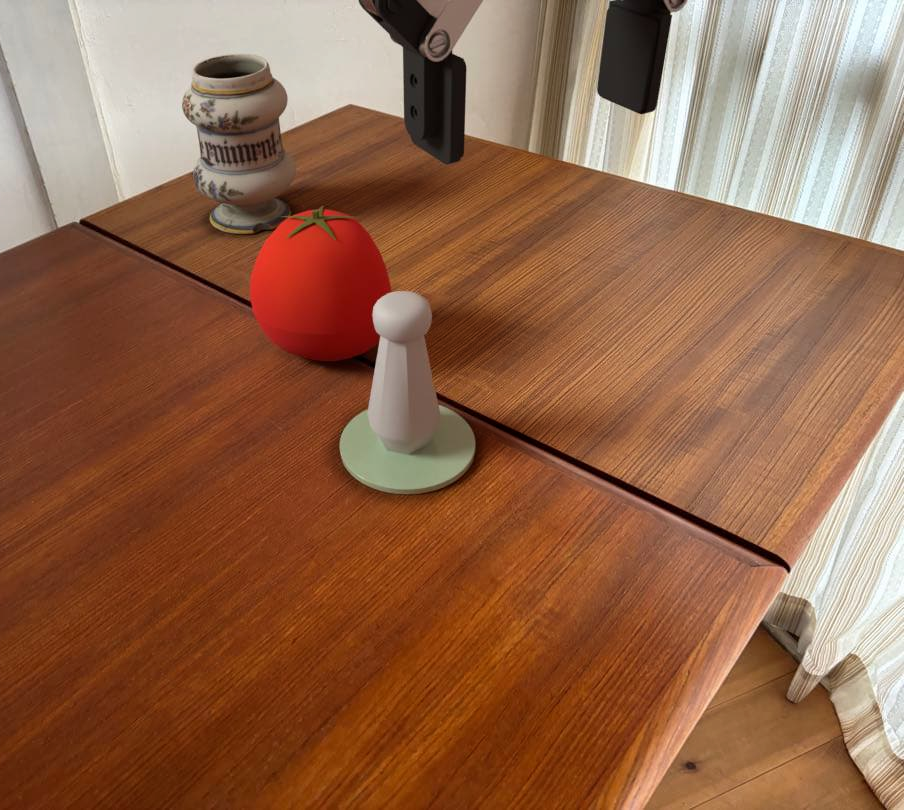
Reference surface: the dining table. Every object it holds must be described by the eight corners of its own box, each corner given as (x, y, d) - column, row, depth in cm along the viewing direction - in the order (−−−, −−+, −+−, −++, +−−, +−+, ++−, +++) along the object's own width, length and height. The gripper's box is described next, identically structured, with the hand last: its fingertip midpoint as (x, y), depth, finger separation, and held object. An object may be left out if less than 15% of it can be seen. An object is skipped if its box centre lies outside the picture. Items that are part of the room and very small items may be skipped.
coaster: (487, 416, 71) (488, 411, 71) (458, 506, 63) (458, 501, 63) (364, 396, 74) (363, 390, 74) (320, 479, 66) (320, 474, 66)
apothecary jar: (223, 249, 97) (196, 90, 86) (187, 210, 105) (159, 61, 94) (317, 222, 101) (303, 67, 90) (275, 187, 110) (258, 41, 99)
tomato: (396, 320, 84) (393, 185, 75) (389, 390, 75) (384, 246, 66) (271, 319, 85) (253, 186, 76) (249, 388, 76) (226, 246, 67)
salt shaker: (429, 468, 66) (429, 328, 58) (359, 454, 68) (350, 316, 59) (447, 421, 70) (450, 285, 62) (382, 410, 72) (376, 276, 64)
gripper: (382, -473, 20) (397, 209, 30) (892, -457, 25) (754, 112, 36) (263, -423, 25) (312, 142, 36) (707, -419, 31) (634, 67, 41)
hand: (534, 127), depth 36 cm, fingers open, 9 cm apart
